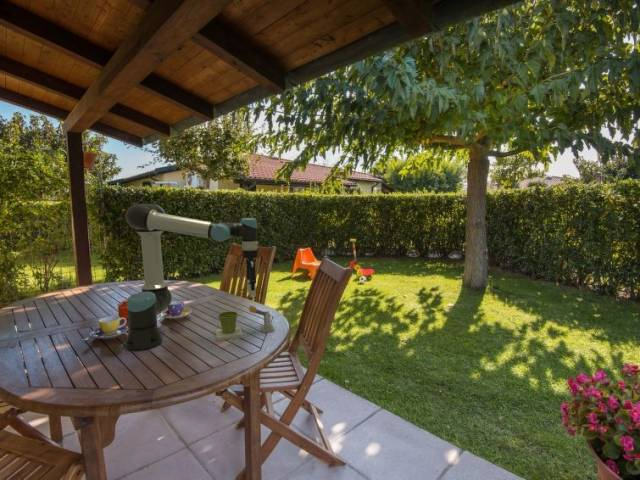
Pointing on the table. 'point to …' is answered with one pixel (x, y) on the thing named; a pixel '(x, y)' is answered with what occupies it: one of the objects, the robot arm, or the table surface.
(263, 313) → the press lever
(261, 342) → the table surface
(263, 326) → the lever stand
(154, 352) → the table surface
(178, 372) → the table surface
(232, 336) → the plate
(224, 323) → the plant pot
